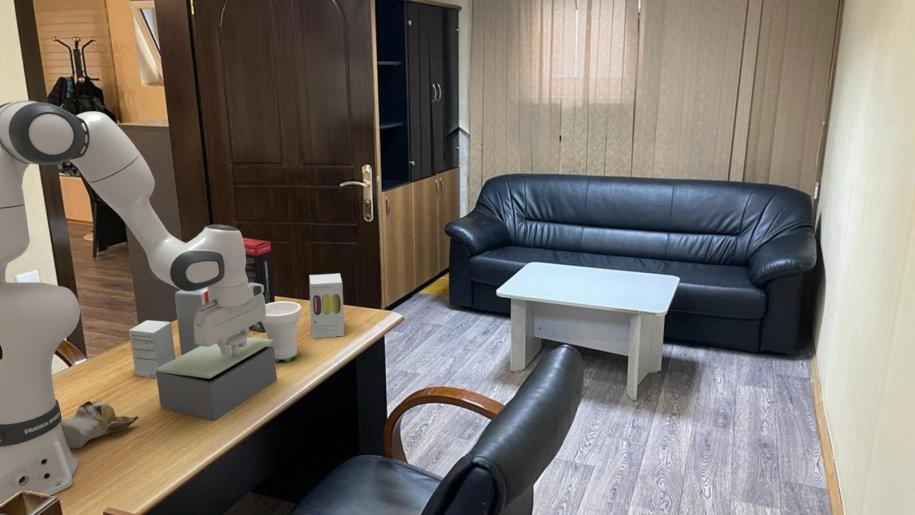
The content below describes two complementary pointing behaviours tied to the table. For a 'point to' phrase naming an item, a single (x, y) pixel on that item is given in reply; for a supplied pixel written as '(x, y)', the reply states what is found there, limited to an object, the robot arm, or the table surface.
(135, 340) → the supplement box
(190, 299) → the hard drive box
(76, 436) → the ceramic sculpture
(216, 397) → the carton
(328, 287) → the supplement box
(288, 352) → the cup
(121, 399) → the table surface
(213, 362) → the lid flap
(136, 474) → the table surface
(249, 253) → the graphics card box
